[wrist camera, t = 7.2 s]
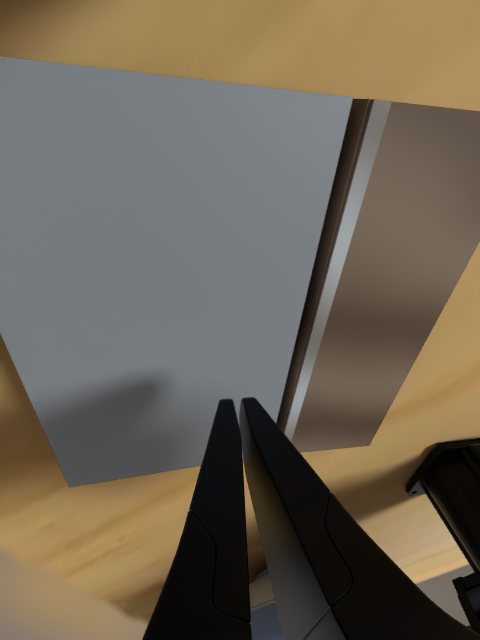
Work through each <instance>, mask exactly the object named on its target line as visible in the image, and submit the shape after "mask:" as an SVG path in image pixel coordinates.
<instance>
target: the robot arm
mask: <svg viewBox="0 0 480 640" xmlns="http://www.w3.org/2000/svg"><path fill="white" fill-rule="evenodd" d="M239 425H240V427H239ZM242 451H243V457H242ZM243 459H244V467H245V473H246V478H247V483H248V487H249V491H250V495H251V500H252V504H253V508H254V513H255V517H256V521H257V525H258V530H259V534H260V538H261V542H262V547H263V551H264V555H265V560H266V564H267V568H268V572H269V577H270V581H271V585H272V589H273V594H274V598H275V602H276V606H277V611H278V615H279V619H280V624H281V628H282V632H283V636H284V640H480V440H476V441H466V442H456V443H447V444H442V445H439V446H438V447H437V448H436V449H435V450H434V451H433V453H432V454H431V455H430V457H429V458H428V459H427V461H426V462H425V463H424V465H423V466H422V467H421V469H420V470H419V471H418V472H417V474H416V475H415V476H414V478H413V479H412V480H411V482H410V483H409V484H408V486H407V487H406V489H405V490H406V492H407V493H408V495H409V496H412V495H420V494H426V495H427V496H428V498H429V500H430V501H431V503H432V504H433V506H434V508H435V509H436V511H437V512H438V514H439V516H440V517H441V519H442V520H443V522H444V524H445V525H446V527H447V529H448V530H449V532H450V533H451V535H452V537H453V538H454V540H455V541H456V543H457V545H458V546H459V548H460V549H461V551H462V553H463V554H464V556H465V557H466V559H467V561H468V562H469V564H470V566H471V567H472V569H473V570H474V572H475V573H473V574H470V575H468V576H466V577H458V578H456V579H453V580H452V582H453V584H454V587H455V589H456V591H457V593H458V599H459V601H460V603H461V605H462V608H463V610H464V612H465V614H466V617H467V619H468V621H469V623H470V626H471V628H472V630H471V629H469V628H468V627H466V626H465V625H463V624H462V623H460V622H458V621H457V620H455V619H454V618H453V617H451V616H450V615H449V614H447V613H445V612H444V611H443V610H442V609H441V608H440V607H438V606H437V605H436V604H435V603H434V602H433V601H431V600H430V599H429V598H428V597H427V596H426V595H425V594H424V593H423V592H422V591H421V590H420V589H419V588H418V587H417V586H416V585H415V584H414V583H413V581H412V580H411V579H410V578H409V577H408V576H407V575H406V574H405V573H404V572H403V571H402V570H401V569H400V568H399V567H398V566H397V565H396V564H395V563H394V562H393V561H392V560H391V559H390V558H389V557H388V556H387V554H386V553H385V552H384V551H383V550H382V549H381V548H380V547H379V546H378V545H377V544H376V543H375V542H374V541H373V540H372V539H371V538H370V537H369V536H368V534H367V533H366V532H365V531H364V530H363V529H362V528H361V527H360V526H359V525H358V524H357V522H356V521H355V520H354V519H353V518H352V517H351V515H350V514H349V513H348V512H347V511H346V509H345V508H344V507H343V506H342V505H341V503H340V502H339V501H338V500H337V498H336V497H335V496H334V495H333V493H330V490H329V489H328V487H327V486H326V485H325V484H324V482H323V481H322V480H321V479H320V477H319V476H318V475H317V474H316V472H315V471H314V470H313V469H312V467H311V466H310V465H309V464H308V462H307V461H306V460H305V459H304V457H303V456H302V455H301V454H300V453H299V451H298V450H297V449H296V448H295V446H294V445H293V444H292V443H291V441H290V440H289V439H288V438H287V436H286V435H285V434H284V433H283V431H282V430H281V429H280V428H279V426H278V425H277V424H276V423H275V421H274V420H273V419H272V418H271V416H270V415H269V414H268V413H267V411H266V410H265V409H264V408H263V406H262V405H261V404H260V403H259V402H258V400H257V399H256V398H255V397H245V398H242V399H241V404H240V412H239V423H238V419H237V414H236V410H235V405H234V401H233V399H231V398H230V399H220V400H219V403H218V406H217V410H216V413H215V417H214V421H213V424H212V428H211V432H210V435H209V439H208V443H207V446H206V450H205V454H204V457H203V461H202V464H201V468H200V472H199V475H198V479H197V483H196V486H195V490H194V494H193V497H192V501H191V505H190V508H189V512H188V515H187V519H186V522H185V526H184V529H183V533H182V536H181V539H180V542H179V546H178V549H177V552H176V555H175V557H174V560H173V563H172V565H171V568H170V571H169V574H168V576H167V579H166V581H165V584H164V586H163V589H162V591H161V594H160V596H159V599H158V601H157V604H156V606H155V609H154V611H153V614H152V616H151V619H150V621H149V624H148V626H147V629H146V631H145V634H144V636H143V639H142V640H252V630H251V624H250V622H251V610H250V591H249V572H248V553H247V534H246V515H245V496H244V476H243Z"/></svg>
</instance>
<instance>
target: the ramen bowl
mask: <svg viewBox="0 0 480 640" xmlns="http://www.w3.org/2000/svg"><path fill="white" fill-rule="evenodd" d="M249 591H250V610H251V622H250V624H251V630H252V640H284V636H283V632H282V628H281V624H280V619H279V615H278V611H277V606H276V602H275V598H274V594H273V589H272V585H271V581H270V577H269V572H268V568H267V569H265V570H264V571H262V572H261V573H260V574H259V575H258V576H257V578H256V579H255V581H254V582H253V583H251V584H250V585H249ZM466 627H468V628H469V629H471V630H472V628H471V626H466Z"/></svg>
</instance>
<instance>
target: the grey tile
mask: <svg viewBox="0 0 480 640" xmlns="http://www.w3.org/2000/svg"><path fill="white" fill-rule="evenodd" d="M352 100H353V97H345V96H337V95H328V94H319V93H311V92H302V91H294V90H285V89H277V88H268V87H259V86H251V85H242V84H234V83H225V82H217V81H208V80H199V79H191V78H182V77H174V76H165V75H156V74H148V73H139V72H131V71H122V70H114V69H105V68H96V67H88V66H79V65H71V64H62V63H54V62H45V61H36V60H28V59H19V58H11V57H2V56H0V334H1V336H2V338H3V341H4V343H5V345H6V347H7V350H8V352H9V354H10V356H11V359H12V361H13V363H14V365H15V367H16V370H17V372H18V374H19V376H20V379H21V381H22V383H23V385H24V388H25V390H26V392H27V394H28V397H29V399H30V401H31V403H32V406H33V408H34V410H35V412H36V415H37V417H38V419H39V421H40V424H41V426H42V428H43V430H44V433H45V435H46V437H47V439H48V441H49V444H50V446H51V448H52V450H53V453H54V455H55V457H56V459H57V462H58V464H59V466H60V468H61V471H62V473H63V475H64V477H65V480H66V482H67V484H68V486H69V487H75V486H81V485H87V484H93V483H99V482H105V481H111V480H117V479H123V478H129V477H135V476H141V475H147V474H153V473H159V472H165V471H172V470H178V469H184V468H190V467H196V466H201V464H202V461H203V457H204V454H205V450H206V446H207V443H208V439H209V435H210V432H211V428H212V424H213V421H214V417H215V413H216V410H217V406H218V403H219V400H220V399H230V398H231V399H233V401H234V405H235V410H236V414H237V419H238V423H239V412H240V404H241V399H242V398H245V397H255V398H256V399H257V400H258V402H259V403H260V404H261V405H262V406H263V408H264V409H265V410H266V411H267V413H268V414H269V415H270V416H271V418H272V419H273V420H274V421H275V423H276V422H277V417H278V413H279V409H280V405H281V401H282V396H283V392H284V388H285V384H286V379H287V375H288V371H289V367H290V362H291V358H292V354H293V350H294V346H295V341H296V337H297V333H298V329H299V324H300V320H301V316H302V312H303V307H304V303H305V299H306V295H307V291H308V286H309V282H310V278H311V274H312V269H313V265H314V261H315V257H316V252H317V248H318V244H319V240H320V236H321V231H322V227H323V223H324V219H325V214H326V210H327V206H328V202H329V197H330V193H331V189H332V185H333V181H334V176H335V172H336V168H337V164H338V159H339V155H340V151H341V147H342V142H343V138H344V134H345V130H346V126H347V121H348V117H349V113H350V109H351V104H352ZM239 427H240V425H239ZM242 457H243V451H242Z"/></svg>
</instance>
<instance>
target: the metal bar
mask: <svg viewBox="0 0 480 640" xmlns="http://www.w3.org/2000/svg"><path fill="white" fill-rule="evenodd" d="M479 242H480V111H471V110H462V109H453V108H444V107H435V106H426V105H417V104H409V103H400V102H392V101H384V100H375V99H353V100H352V104H351V109H350V113H349V117H348V121H347V126H346V130H345V134H344V138H343V142H342V147H341V151H340V155H339V159H338V164H337V168H336V172H335V176H334V181H333V185H332V189H331V193H330V197H329V202H328V206H327V210H326V214H325V219H324V223H323V227H322V231H321V236H320V240H319V244H318V248H317V252H316V257H315V261H314V265H313V269H312V274H311V278H310V282H309V286H308V291H307V295H306V299H305V303H304V307H303V312H302V316H301V320H300V324H299V329H298V333H297V337H296V341H295V346H294V350H293V354H292V358H291V362H290V367H289V371H288V375H287V379H286V384H285V388H284V392H283V396H282V401H281V405H280V409H279V413H278V417H277V422H276V424H277V425H278V426H279V428H280V429H281V430H282V431H283V433H284V434H285V435H286V436H287V438H288V439H289V440H290V441H291V443H292V444H293V445H294V446H295V448H296V449H297V450H298V451H299V453H302V452H312V451H321V450H331V449H341V448H351V447H361V446H369V445H370V443H371V441H372V440H373V438H374V436H375V434H376V432H377V430H378V428H379V427H380V425H381V423H382V421H383V419H384V417H385V415H386V414H387V412H388V410H389V408H390V406H391V404H392V403H393V401H394V399H395V397H396V395H397V393H398V391H399V390H400V388H401V386H402V384H403V382H404V380H405V378H406V377H407V375H408V373H409V371H410V369H411V367H412V366H413V364H414V362H415V360H416V358H417V356H418V354H419V353H420V351H421V349H422V347H423V345H424V343H425V342H426V340H427V338H428V336H429V334H430V332H431V330H432V329H433V327H434V325H435V323H436V321H437V319H438V317H439V316H440V314H441V312H442V310H443V308H444V306H445V305H446V303H447V301H448V299H449V297H450V295H451V293H452V292H453V290H454V288H455V286H456V284H457V282H458V280H459V279H460V277H461V275H462V273H463V271H464V269H465V268H466V266H467V264H468V262H469V260H470V258H471V256H472V255H473V253H474V251H475V249H476V247H477V245H478V243H479Z"/></svg>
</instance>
